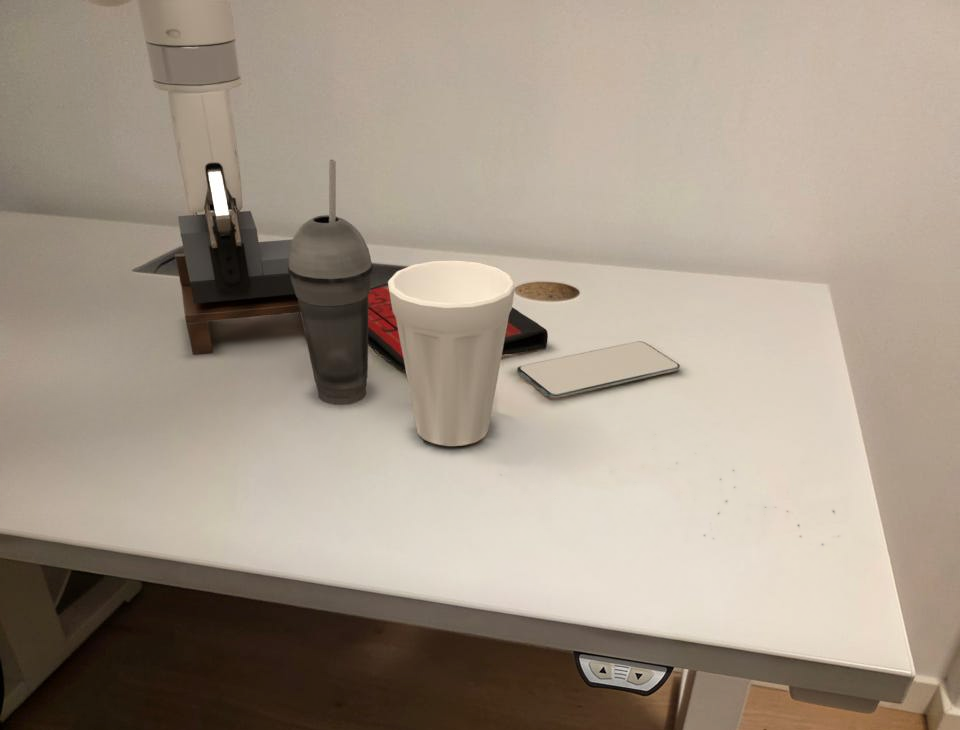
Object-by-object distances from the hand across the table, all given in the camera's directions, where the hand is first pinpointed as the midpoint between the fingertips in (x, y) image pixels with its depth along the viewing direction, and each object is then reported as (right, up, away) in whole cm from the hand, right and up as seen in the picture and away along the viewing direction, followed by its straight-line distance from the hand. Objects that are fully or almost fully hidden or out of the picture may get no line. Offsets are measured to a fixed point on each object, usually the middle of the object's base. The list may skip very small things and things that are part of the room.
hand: (230, 274), depth 90 cm
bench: (+2, -4, +5) cm, 7 cm away
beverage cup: (+12, -14, -5) cm, 19 cm away
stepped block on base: (+2, -1, +1) cm, 3 cm away
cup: (+23, -19, -11) cm, 31 cm away
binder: (+20, -3, +7) cm, 21 cm away
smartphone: (+37, -10, -1) cm, 38 cm away
